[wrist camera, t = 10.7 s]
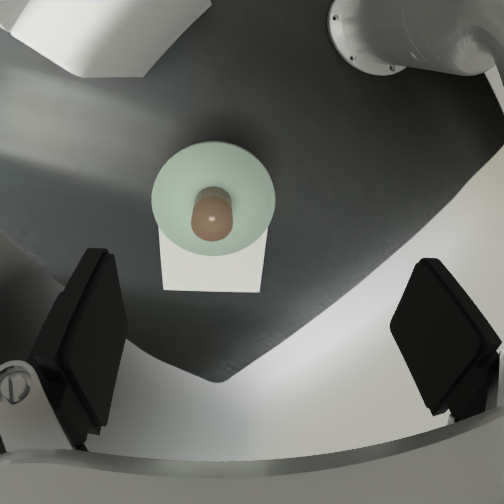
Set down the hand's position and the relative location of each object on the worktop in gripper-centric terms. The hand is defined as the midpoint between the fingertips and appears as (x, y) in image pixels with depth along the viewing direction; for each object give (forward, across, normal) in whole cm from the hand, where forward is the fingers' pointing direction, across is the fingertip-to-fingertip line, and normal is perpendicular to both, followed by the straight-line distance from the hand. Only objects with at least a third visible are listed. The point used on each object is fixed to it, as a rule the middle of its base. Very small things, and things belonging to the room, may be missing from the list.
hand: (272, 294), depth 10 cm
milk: (+32, +12, -13) cm, 37 cm away
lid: (+22, +2, +7) cm, 24 cm away
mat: (+32, +2, +19) cm, 38 cm away
